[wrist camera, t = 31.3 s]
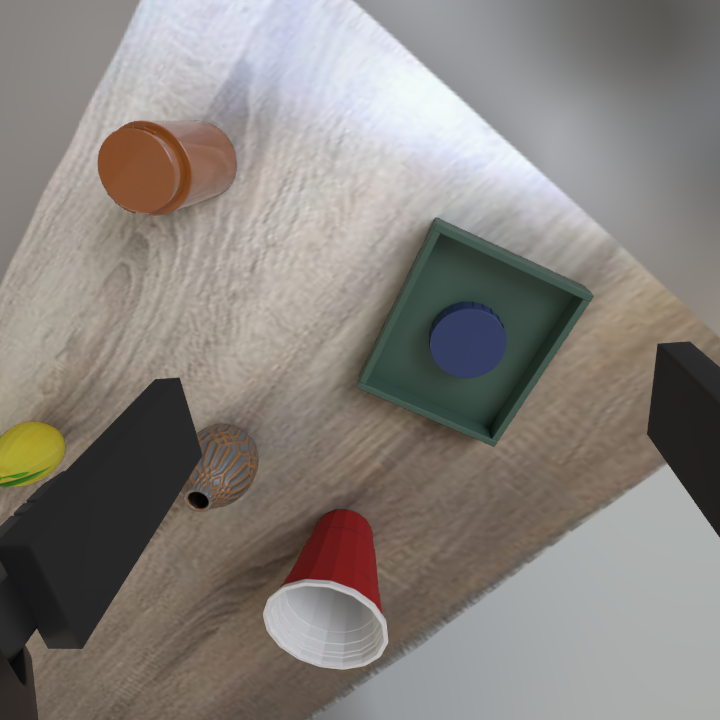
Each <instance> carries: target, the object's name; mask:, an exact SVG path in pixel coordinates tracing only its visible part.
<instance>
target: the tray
mask: <svg viewBox="0 0 720 720" xmlns="http://www.w3.org/2000/svg"><path fill="white" fill-rule="evenodd" d="M593 297H594V295H593V294H592V293H591V292H590V291H589V290H588V289H587V288H586V287H585V286H583V285H581V284H579V283H577V282H575V281H572V280H570V279H568V278H566V277H564V276H562V275H560V274H557V273H555V272H553V271H551V270H549V269H547V268H544V267H542V266H540V265H538V264H536V263H534V262H531V261H529V260H527V259H525V258H523V257H521V256H519V255H516V254H514V253H512V252H510V251H508V250H506V249H503V248H501V247H499V246H497V245H495V244H493V243H491V242H488V241H486V240H484V239H482V238H480V237H478V236H475V235H473V234H471V233H469V232H467V231H465V230H463V229H460V228H458V227H456V226H454V225H452V224H450V223H447V222H445V221H443V220H441V219H439V218H437V217H436V218H435V220H434V222H433V224H432V226H431V228H430V230H429V232H428V234H427V236H426V239H425V241H424V243H423V245H422V247H421V249H420V251H419V253H418V255H417V257H416V259H415V261H414V263H413V265H412V267H411V270H410V272H409V274H408V276H407V278H406V280H405V282H404V284H403V286H402V288H401V290H400V292H399V294H398V296H397V298H396V301H395V303H394V305H393V307H392V309H391V311H390V313H389V315H388V317H387V319H386V321H385V323H384V325H383V327H382V329H381V331H380V334H379V336H378V338H377V340H376V342H375V344H374V346H373V348H372V350H371V352H370V354H369V356H368V358H367V360H366V362H365V365H364V367H363V369H362V371H361V373H360V375H359V379H358V383H357V388H359V389H361V390H364V391H366V392H368V393H371V394H373V395H375V396H378V397H380V398H382V399H384V400H387V401H389V402H391V403H394V404H396V405H398V406H401V407H403V408H405V409H408V410H410V411H412V412H415V413H417V414H419V415H422V416H424V417H426V418H429V419H431V420H433V421H435V422H438V423H440V424H442V425H445V426H447V427H449V428H452V429H454V430H456V431H459V432H461V433H463V434H466V435H468V436H470V437H473V438H475V439H477V440H480V441H482V442H484V443H486V444H489V445H491V446H493V447H495V445H496V444H497V441H499V439H500V438H501V436H502V435H503V433H504V432H505V430H506V429H507V427H508V425H509V424H510V422H511V421H512V419H513V418H514V416H515V415H516V413H517V412H518V410H519V409H520V407H521V406H522V404H523V403H524V401H525V400H526V398H527V397H528V395H529V394H530V392H531V391H532V389H533V388H534V386H535V385H536V383H537V382H538V380H539V379H540V377H541V375H542V374H543V372H544V371H545V369H546V368H547V366H548V365H549V363H550V362H551V360H552V359H553V357H554V356H555V354H556V353H557V351H558V350H559V348H560V347H561V345H562V344H563V342H564V341H565V339H566V338H567V336H568V335H569V333H570V332H571V330H572V329H573V327H574V325H575V324H576V322H577V321H578V319H579V318H580V316H581V315H582V313H583V312H584V310H585V309H586V307H587V306H588V304H589V302H590V301H591V300H592V298H593ZM462 301H464V302H473V301H474V302H475V303H479V304H484V305H485V306H487V307H488V308H490V309H492V311H493V312H494V313H495V314H496V315H498V316H499V318H500V321H501V323H503V326H504V328H505V330H504V331H505V334H506V337H507V339H506V350H505V353H504V355H503V358H502V359H501V361H500V362H499V363H498V365H497V366H496V367H495V368H494V369H492V370H491V371H490V372H488V373H486V374H484V375H482V376H479V377H474V378H459V377H455V376H452V375H450V374H448V373H446V372H445V371H443V370H442V369H441V368H440V367H439V366H438V365H437V364H436V362H435V361H434V359H433V357H432V355H431V350H430V347H429V340H430V338H429V331H430V330H431V326H432V323H433V322H434V320H435V319H436V317H437V315H439V314H440V313H441V312H442V311H443V310H444V308H445V309H446V308H447V307H449V306H451V305H453V304H456V303H461V302H462Z"/></svg>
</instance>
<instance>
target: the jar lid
mask: <svg viewBox="0 0 720 720" xmlns="http://www.w3.org/2000/svg"><path fill="white" fill-rule="evenodd" d="M504 330H505V328H504V326H503V323H501V321H500V318H499V316H498V315H496V314H495V313H494V312H493V311H492V309H490V308H488V307H487V306H485V305H484V304H479V303H475V302H474V301H473V302H464V301H462V302H461V303H456V304H453V305H451V306H449V307H447V308H446V309H445V308H444V310H443V311H442V312H441V313H440V314H439V315H437V317H436V319H435V320H434V322H433V323H432V326H431V330H430V331H429V338H430V340H429V347H430V350H431V355H432V357H433V359H434V361H435V362H436V364H437V365H438V366H439V367H440V368H441V369H442V370H443V371H445V372H446V373H448V374H450V375H452V376H455V377H459V378H474V377H479V376H482V375H484V374H486V373H488V372H490V371H491V370H492V369H494V368H495V367H496V366H497V365H498V363H499V362H500V361H501V359H502V358H503V355H504V353H505V350H506V339H507V337H506V334H505V331H504Z"/></svg>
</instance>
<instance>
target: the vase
mask: <svg viewBox="0 0 720 720" xmlns="http://www.w3.org/2000/svg"><path fill="white" fill-rule="evenodd" d="M197 438H198V441H199V444H200V448H201V451H202V454H203V456H202V458H201V459H200V461H199V462H198V464H197V466H196V467H195V469H194V470H193V472H192V474H191V475H190V477H189V478H188V480H187V482H186V483H185V485H184V486H183V488H182V491H183V493H184V501H185V503H186V505H187V506H188V507H189V508H190V509H191V510H193V511H196V512H205V511H208V510H209V509H211V508H218V507H223V506H226V505H229V504H231V503H233V502H234V501H236V500H237V499H239V498H240V497H241V496H242V495H243V494H244V493H245V492H246V491H247V490H248V488H249V487H250V486H251V484H252V482H253V480H254V478H255V475H256V472H257V469H258V451H257V447H256V444H255V442H254V441H253V439H252V438H251V437H250V435H249V434H248V433H247V432H245V431H244V430H243V429H241V428H239V427H237V426H234V425H230V424H216V425H212V426H209V427H207V428H205V429H203V430H201V431H200V432H198V433H197Z"/></svg>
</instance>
